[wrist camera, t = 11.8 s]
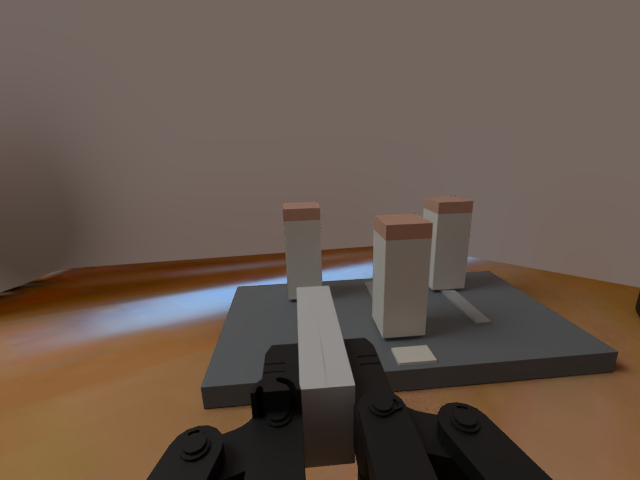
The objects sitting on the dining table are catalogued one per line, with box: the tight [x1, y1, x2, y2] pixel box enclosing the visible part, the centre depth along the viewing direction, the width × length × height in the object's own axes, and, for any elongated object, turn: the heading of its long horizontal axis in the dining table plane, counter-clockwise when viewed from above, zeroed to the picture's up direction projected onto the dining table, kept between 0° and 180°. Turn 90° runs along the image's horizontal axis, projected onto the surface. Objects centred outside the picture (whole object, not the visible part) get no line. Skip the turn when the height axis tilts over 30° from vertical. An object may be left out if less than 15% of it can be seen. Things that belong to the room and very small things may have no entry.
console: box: [201, 271, 618, 409], centre depth 27 cm, size 26×14×2 cm, turn 95°
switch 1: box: [372, 214, 433, 338], centre depth 23 cm, size 3×3×8 cm
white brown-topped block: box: [283, 202, 322, 300], centre depth 29 cm, size 3×3×8 cm
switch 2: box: [423, 196, 473, 290], centre depth 30 cm, size 3×3×8 cm
